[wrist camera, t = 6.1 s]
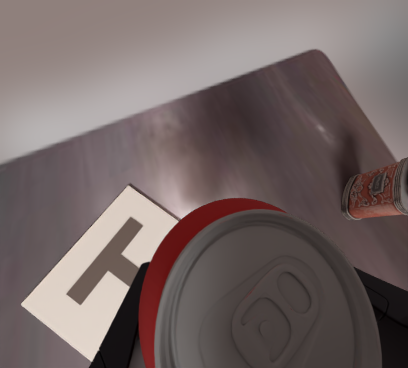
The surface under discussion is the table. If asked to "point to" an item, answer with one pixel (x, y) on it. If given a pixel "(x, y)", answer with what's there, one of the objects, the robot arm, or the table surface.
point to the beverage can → (253, 295)
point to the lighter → (377, 192)
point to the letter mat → (99, 271)
